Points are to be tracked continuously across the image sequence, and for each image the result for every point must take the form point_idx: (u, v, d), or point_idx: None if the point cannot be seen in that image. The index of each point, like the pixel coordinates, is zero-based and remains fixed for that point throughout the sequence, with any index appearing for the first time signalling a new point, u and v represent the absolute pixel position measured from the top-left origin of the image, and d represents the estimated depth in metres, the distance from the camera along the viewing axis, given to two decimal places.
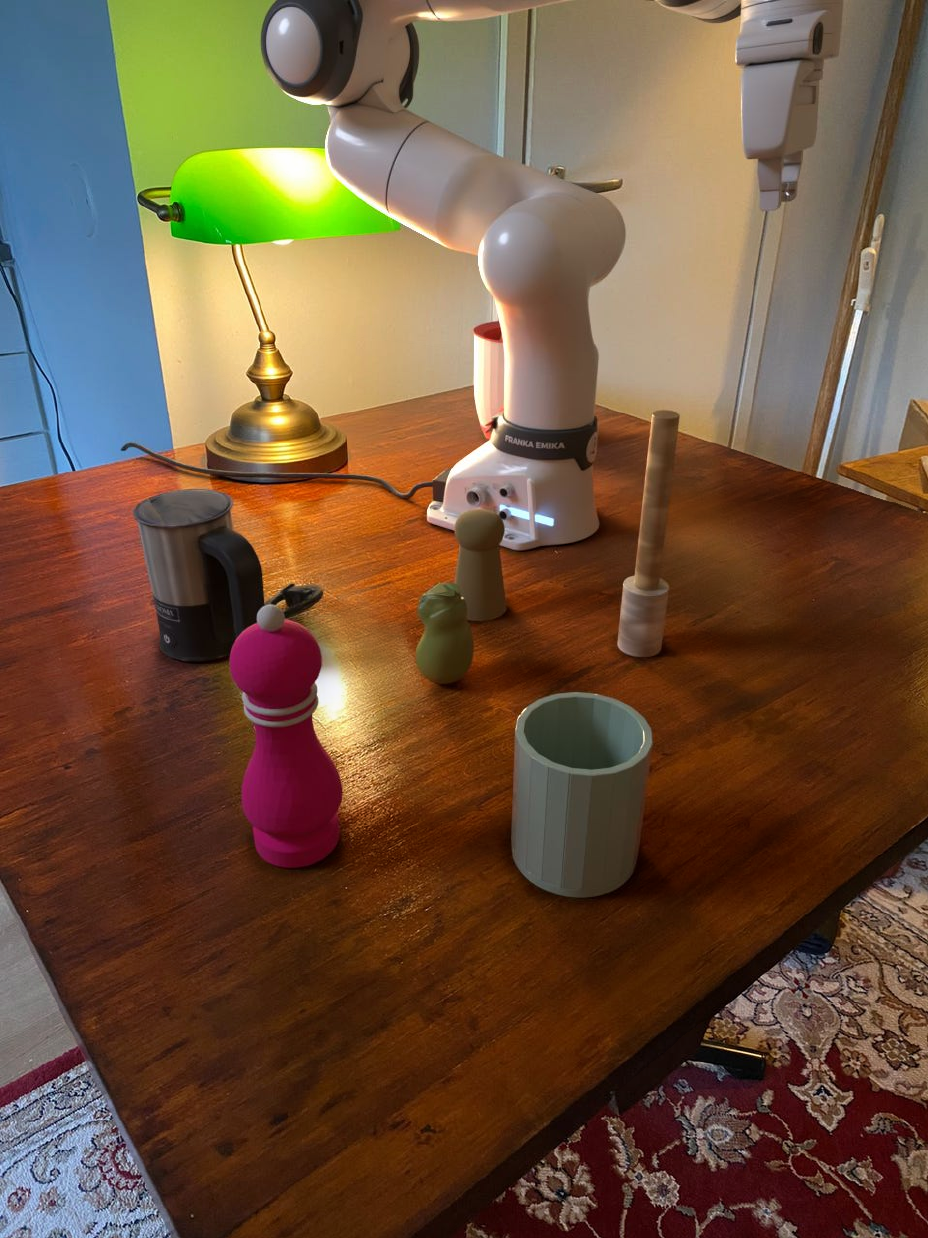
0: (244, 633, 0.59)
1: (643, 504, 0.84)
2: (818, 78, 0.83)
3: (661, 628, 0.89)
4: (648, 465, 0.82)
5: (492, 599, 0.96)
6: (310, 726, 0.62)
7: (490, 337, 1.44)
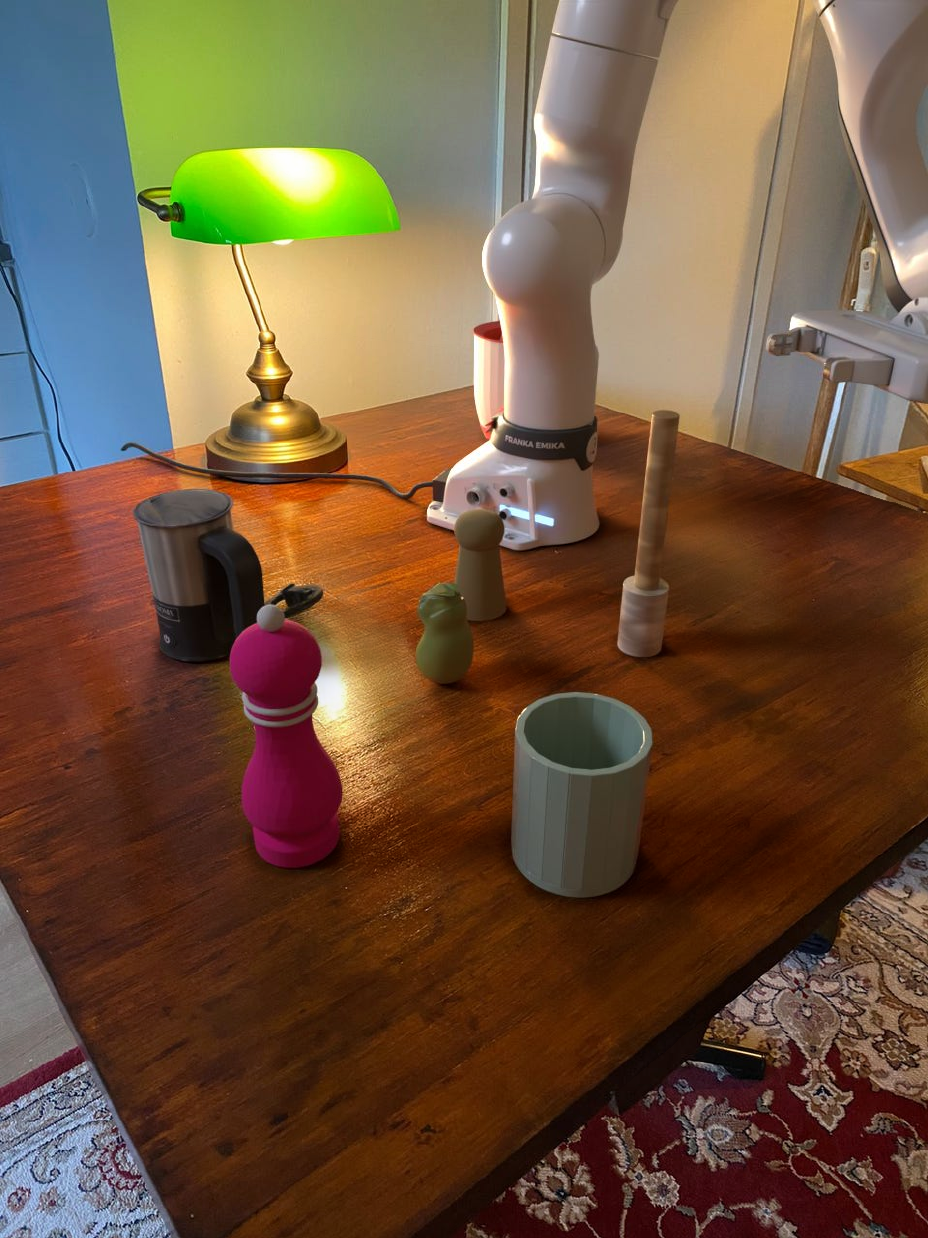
0: (244, 633, 0.59)
1: (643, 504, 0.84)
2: None
3: (661, 628, 0.89)
4: (648, 465, 0.82)
5: (492, 599, 0.96)
6: (310, 726, 0.62)
7: (490, 337, 1.44)
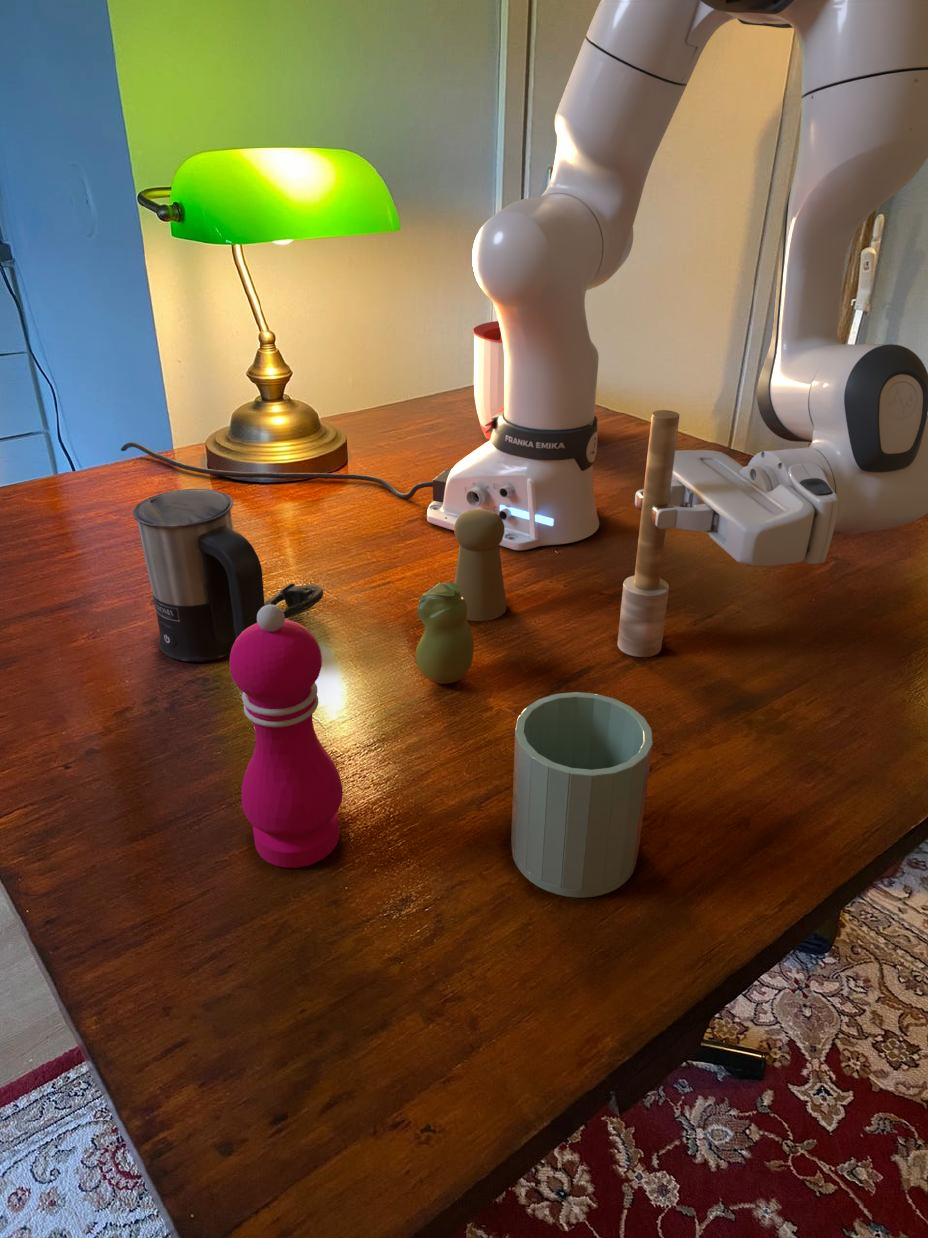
0: (244, 633, 0.59)
1: (643, 504, 0.84)
2: None
3: (661, 628, 0.89)
4: (648, 465, 0.82)
5: (492, 599, 0.96)
6: (310, 726, 0.62)
7: (490, 337, 1.44)
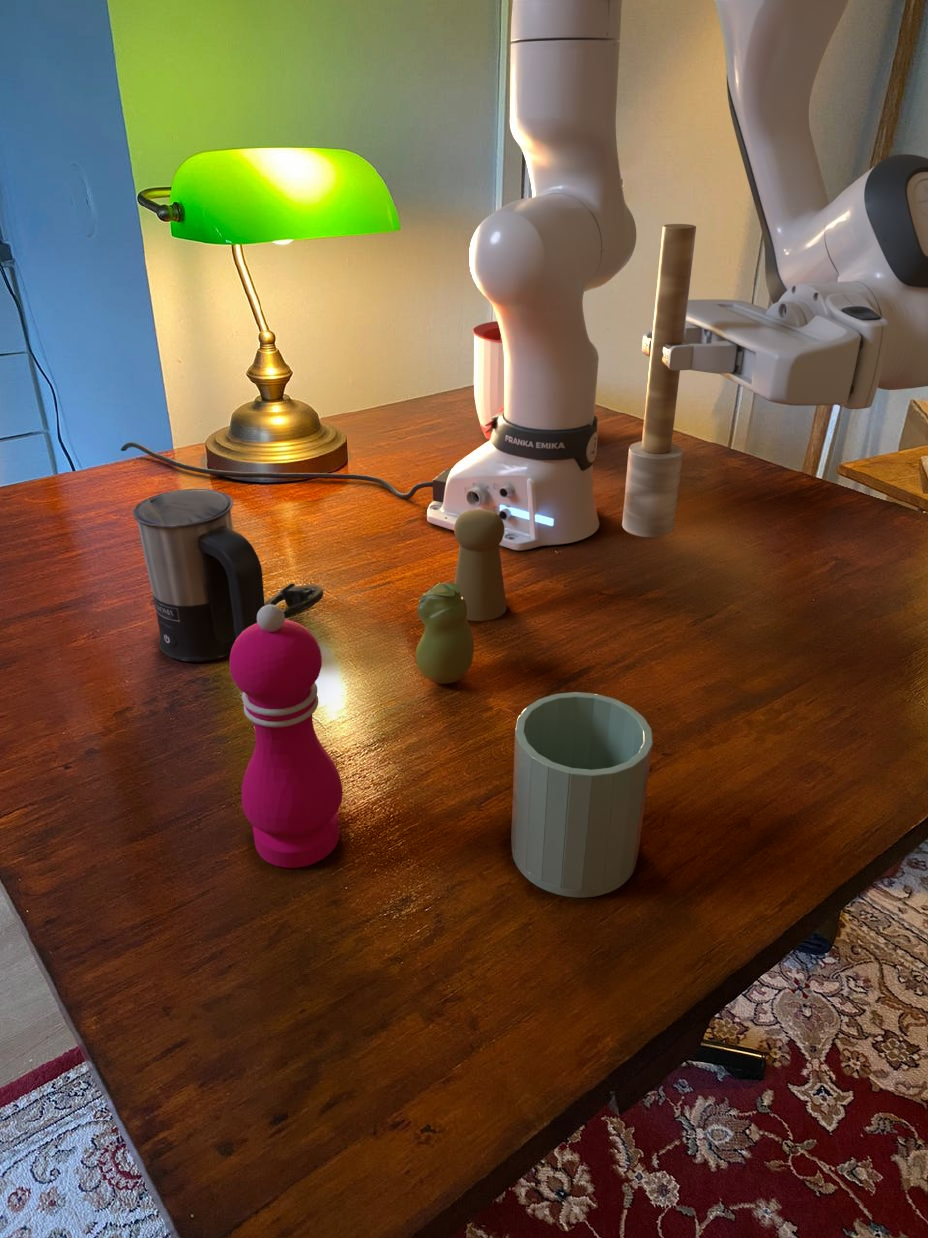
0: (244, 633, 0.59)
1: (652, 344, 0.70)
2: None
3: (674, 502, 0.76)
4: (658, 292, 0.68)
5: (492, 599, 0.96)
6: (310, 726, 0.62)
7: (490, 337, 1.44)
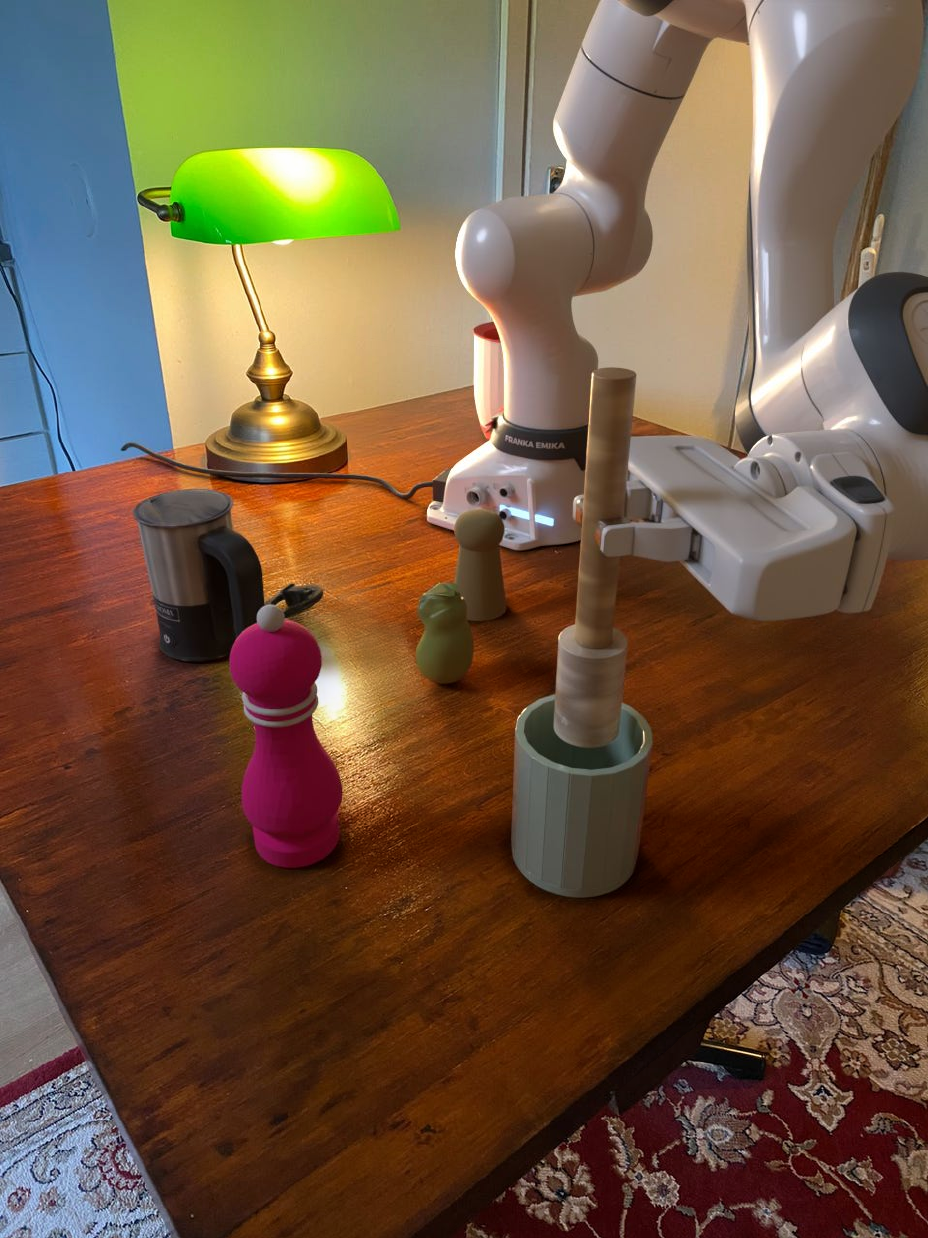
0: (244, 633, 0.59)
1: (583, 517, 0.53)
2: None
3: (618, 705, 0.59)
4: (588, 456, 0.51)
5: (492, 599, 0.96)
6: (310, 726, 0.62)
7: (490, 337, 1.44)
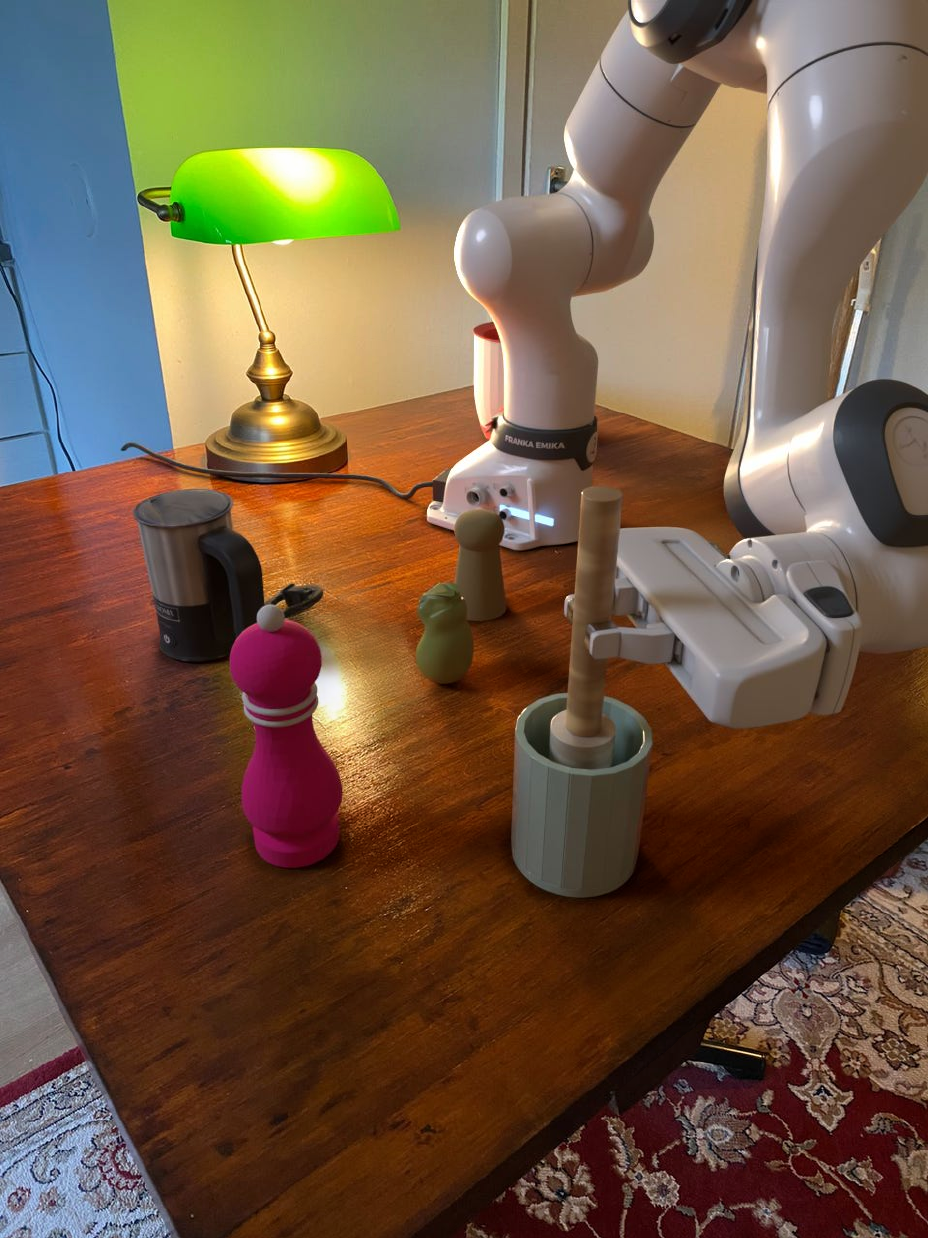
0: (244, 633, 0.59)
1: (574, 620, 0.57)
2: None
3: None
4: (578, 566, 0.55)
5: (492, 599, 0.96)
6: (310, 726, 0.62)
7: (490, 337, 1.44)
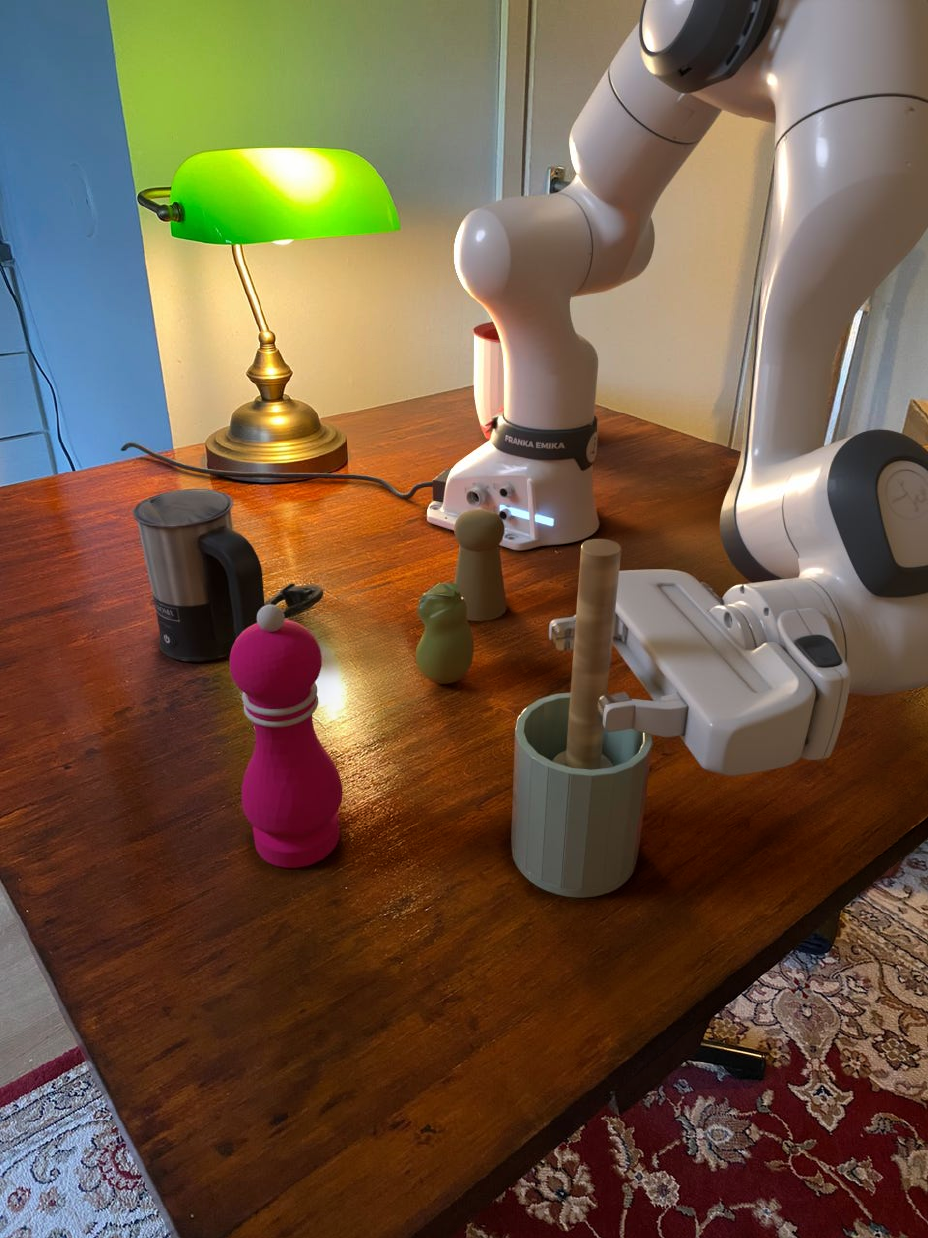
0: (244, 633, 0.59)
1: (573, 667, 0.59)
2: None
3: None
4: (578, 616, 0.57)
5: (492, 599, 0.96)
6: (310, 726, 0.62)
7: (490, 337, 1.44)
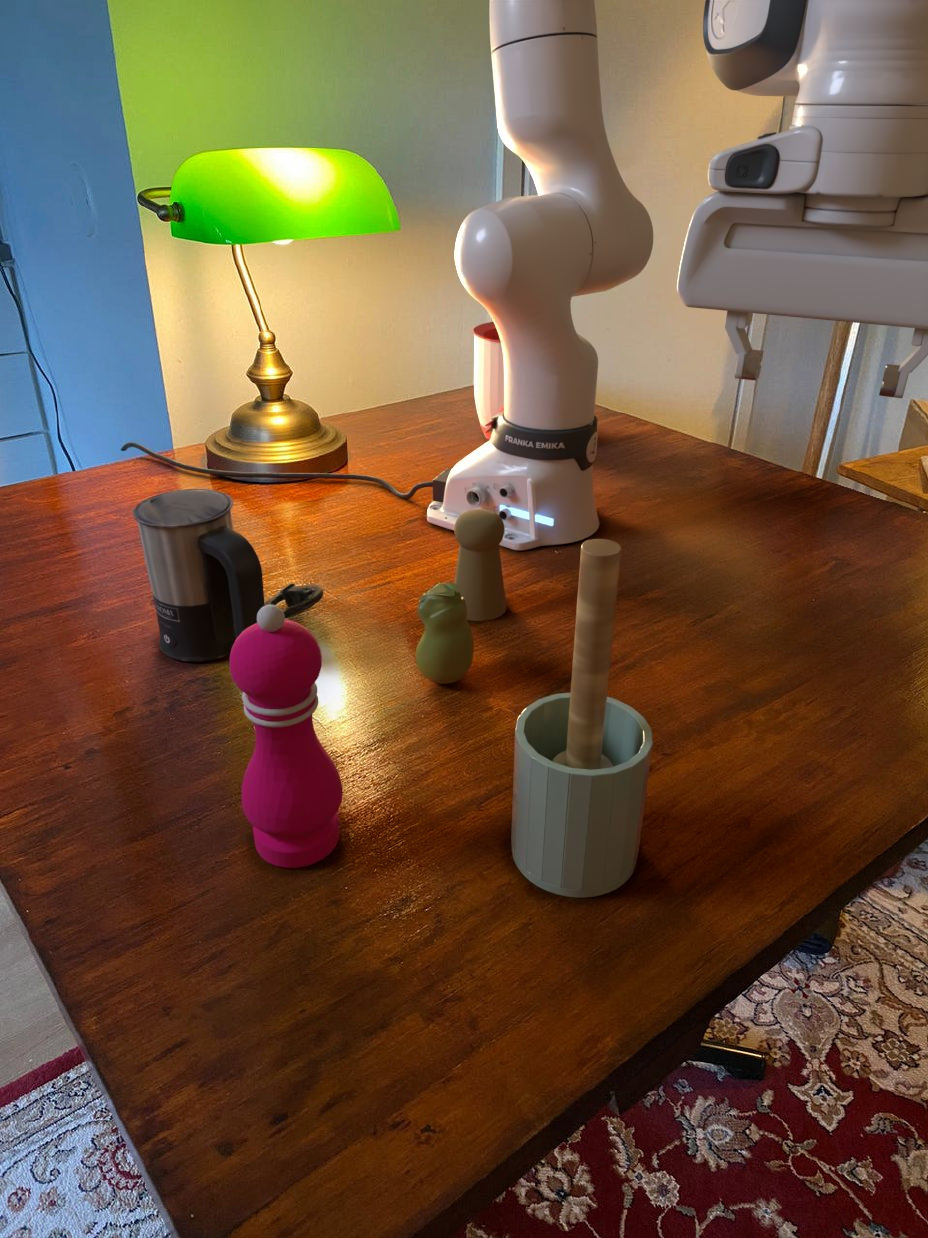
0: (244, 633, 0.59)
1: (573, 667, 0.59)
2: (828, 223, 0.55)
3: None
4: (578, 616, 0.57)
5: (492, 599, 0.96)
6: (310, 726, 0.62)
7: (490, 337, 1.44)
